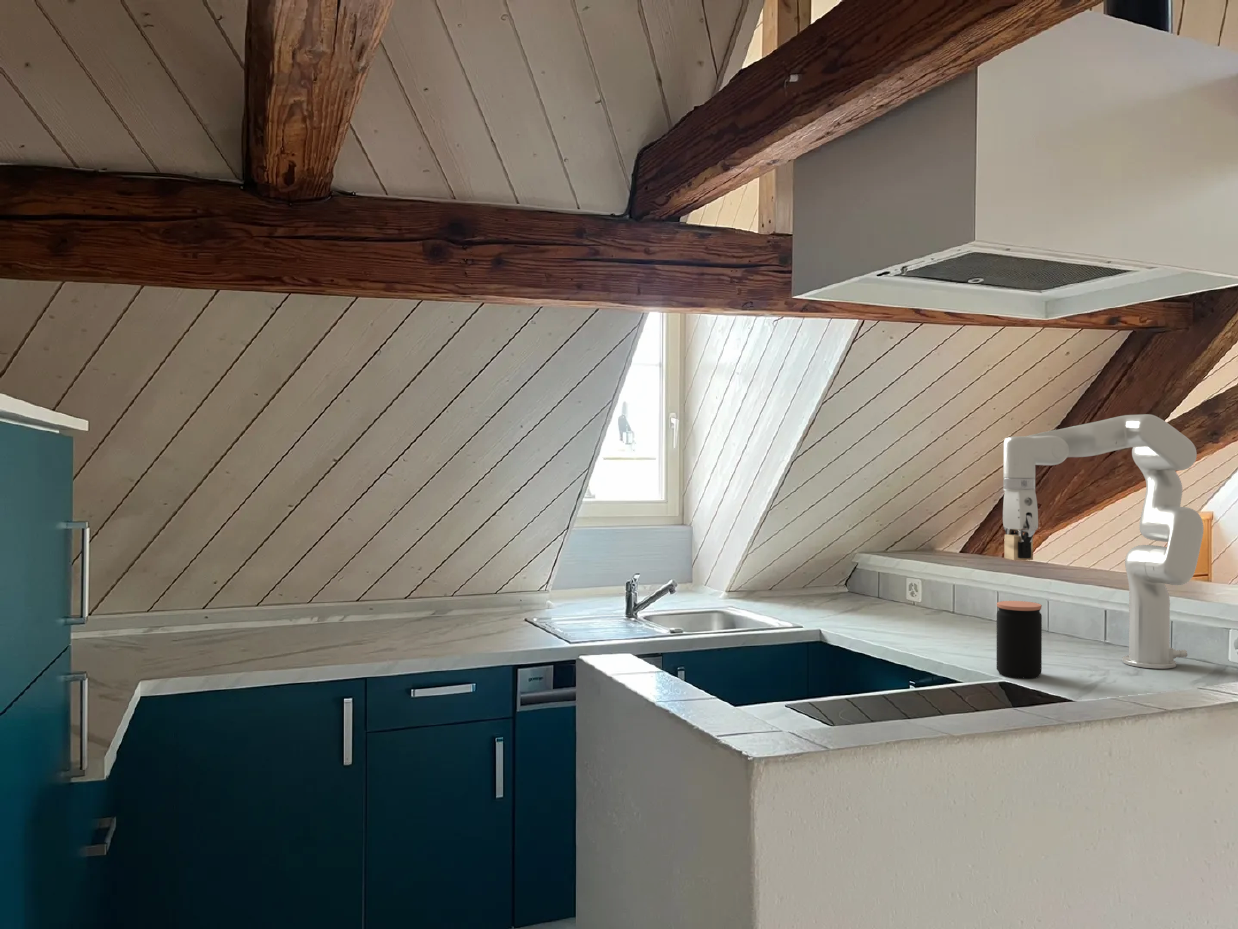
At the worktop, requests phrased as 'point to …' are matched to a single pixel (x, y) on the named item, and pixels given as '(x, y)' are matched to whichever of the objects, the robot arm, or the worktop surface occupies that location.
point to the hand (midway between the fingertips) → (1018, 556)
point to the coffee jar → (1019, 639)
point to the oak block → (1014, 547)
